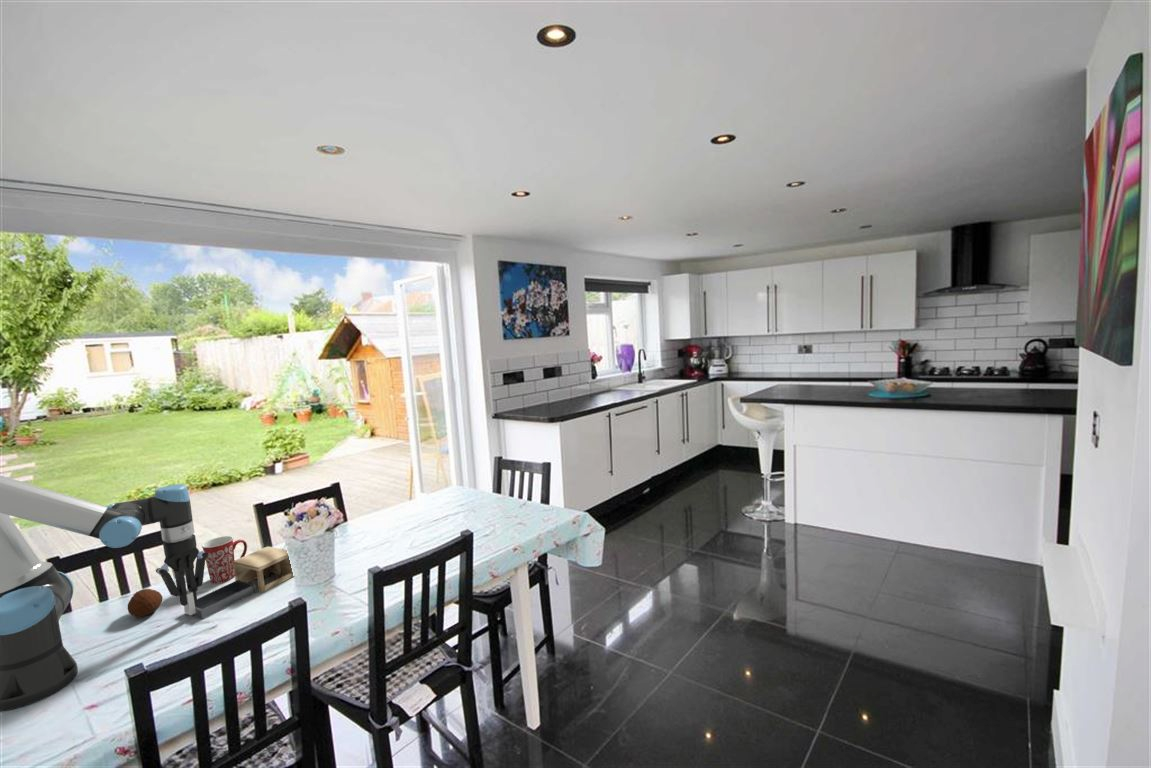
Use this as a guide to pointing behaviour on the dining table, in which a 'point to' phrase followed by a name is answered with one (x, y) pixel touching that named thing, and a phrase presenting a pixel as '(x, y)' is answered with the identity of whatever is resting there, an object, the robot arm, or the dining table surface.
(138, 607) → the potato
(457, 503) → the dining table surface
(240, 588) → the tray
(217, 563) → the mug
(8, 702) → the robot arm
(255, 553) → the shelf
